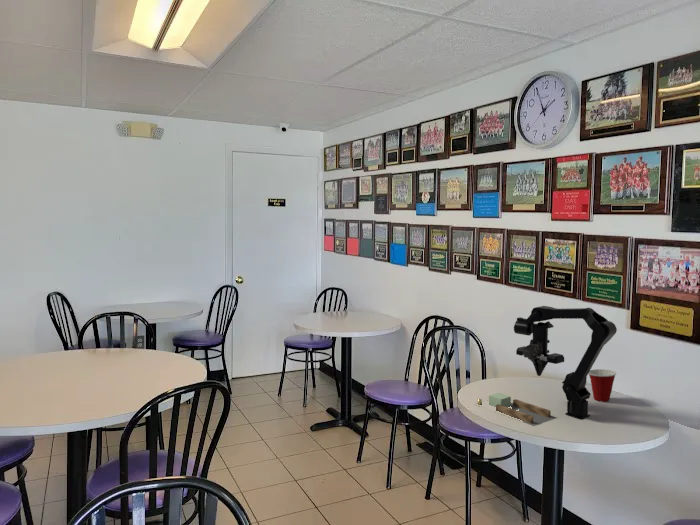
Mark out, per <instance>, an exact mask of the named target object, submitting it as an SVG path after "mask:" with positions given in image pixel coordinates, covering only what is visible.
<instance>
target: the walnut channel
mask: <svg viewBox="0 0 700 525" xmlns="http://www.w3.org/2000/svg"><path fill="white" fill-rule="evenodd" d="M512 403H513V406H515V407H518V408H521V409H524V410H527V411H530V412H533V413H536V414H539V415H542V416H545V417H550V416H551V412H552V411H551V410H550V409H547V408H544V407H540V406H538V405H536V404H535V405H534V404H531V403H529V402H525V401H522V400H519V399H513V400H512ZM496 411H499V412H501V413H504V414H506V415H509V416H511V417H514V418H517V419H520V420H522V421H525V422H528V423H530V424H531V423H533V416H531V415H528V414H525V413H522V412H519V411H516V410H514V409H511V408H508V407H505V406H502V405H499V404H498V405H496Z"/></svg>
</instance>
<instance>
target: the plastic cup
mask: <svg viewBox="0 0 700 525" xmlns="http://www.w3.org/2000/svg"><path fill="white" fill-rule="evenodd" d="M588 375H589V379H590V384H591V391H592V395H593V400H594V399H595V401H596V400H597V402H600V401H602V402H601V403H608V402H609V401H610V399H611V394H612V391H613V390H612V389H613V384H614V381H615V377H616V375H617V373H616V371H614V370H611V369H610V370H609V369H604V368H603V369H601V368H599V369H597V368H596V369H595V368H594V369H590V371H589V373H588ZM607 401H608V402H607Z"/></svg>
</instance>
